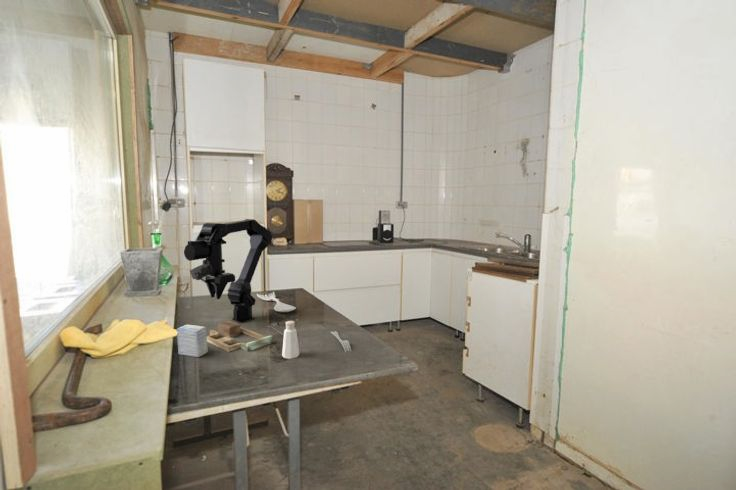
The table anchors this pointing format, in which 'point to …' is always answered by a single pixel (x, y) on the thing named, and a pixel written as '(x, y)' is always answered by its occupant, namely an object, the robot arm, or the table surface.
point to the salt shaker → (290, 341)
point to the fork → (341, 340)
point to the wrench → (276, 327)
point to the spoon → (279, 306)
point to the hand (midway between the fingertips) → (215, 298)
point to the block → (229, 329)
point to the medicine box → (192, 340)
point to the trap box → (228, 342)
